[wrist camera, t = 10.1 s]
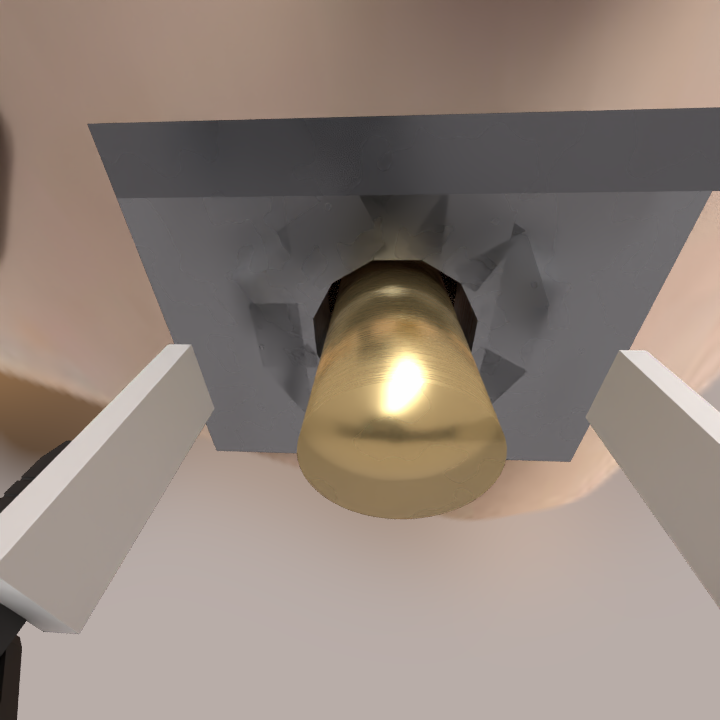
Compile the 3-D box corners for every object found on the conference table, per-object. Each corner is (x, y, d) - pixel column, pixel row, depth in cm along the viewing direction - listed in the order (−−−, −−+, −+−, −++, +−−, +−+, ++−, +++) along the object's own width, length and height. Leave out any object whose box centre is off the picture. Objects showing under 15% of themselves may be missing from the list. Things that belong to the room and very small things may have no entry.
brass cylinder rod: (342, 338, 18) (308, 515, 10) (336, 242, 15) (281, 379, 7) (436, 339, 18) (484, 522, 9) (449, 242, 15) (533, 383, 7)
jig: (242, 400, 21) (199, 483, 16) (163, 126, 13) (27, 125, 8) (539, 406, 20) (590, 498, 15) (651, 114, 12) (843, 104, 7)
